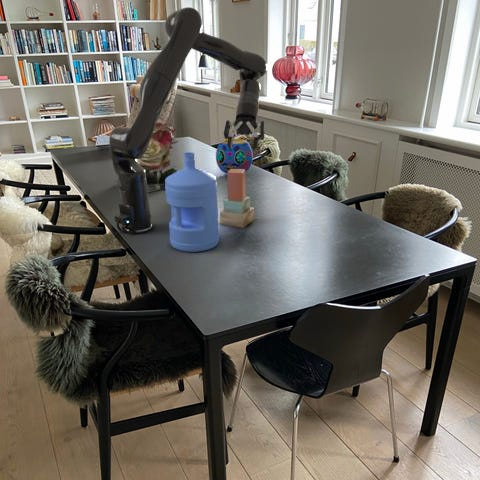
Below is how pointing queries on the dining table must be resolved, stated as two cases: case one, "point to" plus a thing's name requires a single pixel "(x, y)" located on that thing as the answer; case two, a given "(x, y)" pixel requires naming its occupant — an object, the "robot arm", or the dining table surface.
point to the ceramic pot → (234, 155)
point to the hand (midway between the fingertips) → (242, 148)
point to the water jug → (192, 208)
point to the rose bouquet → (158, 155)
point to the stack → (237, 213)
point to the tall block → (236, 184)
